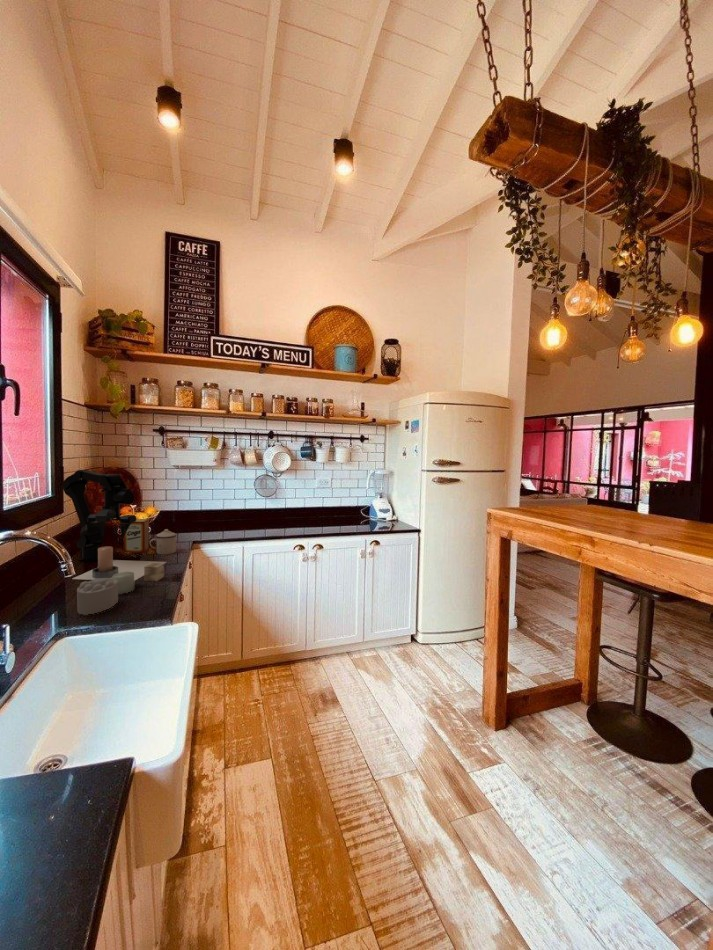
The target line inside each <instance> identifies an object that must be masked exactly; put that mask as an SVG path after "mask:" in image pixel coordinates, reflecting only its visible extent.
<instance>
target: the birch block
mask: <svg viewBox="0 0 713 950" xmlns="http://www.w3.org/2000/svg"><path fill="white" fill-rule="evenodd" d="M164 567H165V563H150V564H148V565H146V566H145V567H144V576H143V578H144V579H143V581H146V582H147V581H148V582H149V581H150V582H154V581H155V582H158V581H160V580H161V579H163V578H164V574H165V573H164V569H165V568H164Z"/></svg>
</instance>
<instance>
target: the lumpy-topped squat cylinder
mask: <svg viewBox="0 0 713 950" xmlns="http://www.w3.org/2000/svg"><path fill="white" fill-rule="evenodd" d="M116 603H117V604H118V603H119V594H118V581H117V580H112V579H111V578H95V579H93V580H85V581H84V580H83V581H82V583H79V586H78V587H77V588H76V608H77V609H76V611H77V613H78V615H81V614H83V615H82V616H89V615H88V614H93V615H95V614H94V613H97V612H101V611H103V610H106V609H109V608H111V607H112V606H114V605H115V604H116ZM117 604H116V605H117ZM116 605H115V606H116ZM115 606H114V607H115ZM112 608H113V607H112ZM112 608H111V609H112ZM109 610H110V609H109ZM101 613H102V612H101ZM97 614H98V613H97Z"/></svg>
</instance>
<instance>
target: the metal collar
mask: <svg viewBox="0 0 713 950" xmlns="http://www.w3.org/2000/svg"><path fill="white" fill-rule="evenodd" d="M92 570H93V571H92V577H93V578H111V577H112V576H113V575H114V574H117V573H118V567H117V566H113V570H111V571H106V572H98V568H97V567H96V568H93V569H92Z"/></svg>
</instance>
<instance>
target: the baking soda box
mask: <svg viewBox="0 0 713 950" xmlns="http://www.w3.org/2000/svg"><path fill="white" fill-rule="evenodd" d="M149 520H150V519H149V518H136V521H134V522H133V523H131V525H130V526H129V528H128V530H127V532H126V534H125V536H124V538H123V553H124V552H129V553H128V554H139V553H140V554H141V553H143V554H144V553H147V552H148V550H149V549H150V544H149V543H150V537H149V536H150V531H149V529H150V523H149V522H150V521H149Z"/></svg>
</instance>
